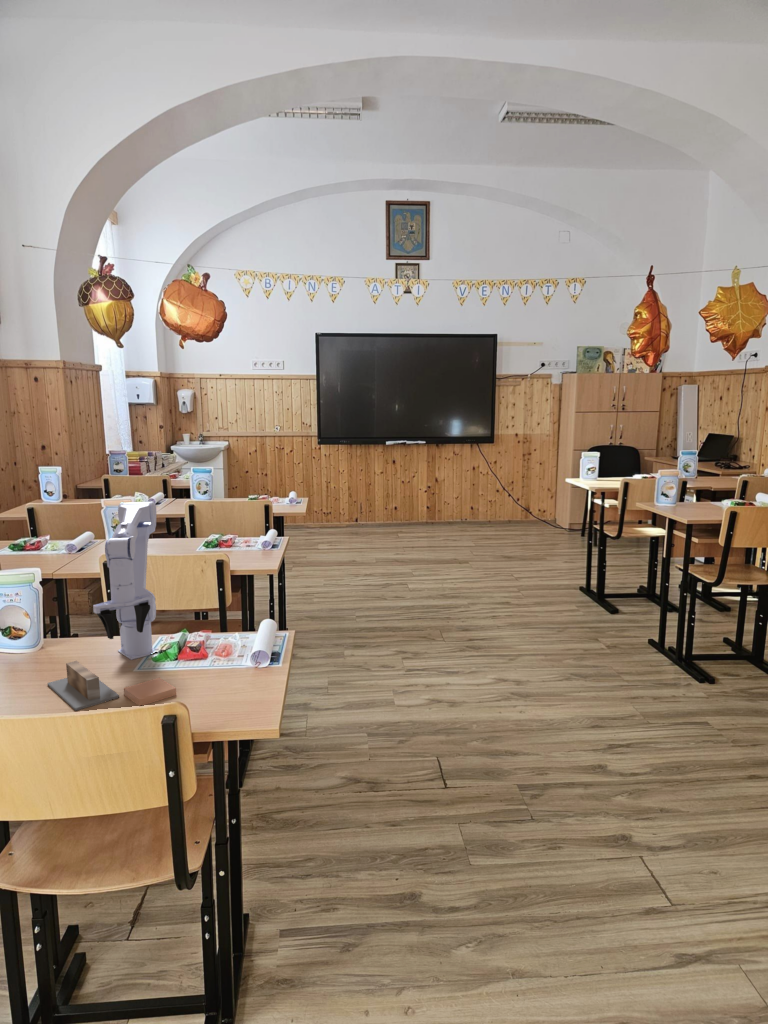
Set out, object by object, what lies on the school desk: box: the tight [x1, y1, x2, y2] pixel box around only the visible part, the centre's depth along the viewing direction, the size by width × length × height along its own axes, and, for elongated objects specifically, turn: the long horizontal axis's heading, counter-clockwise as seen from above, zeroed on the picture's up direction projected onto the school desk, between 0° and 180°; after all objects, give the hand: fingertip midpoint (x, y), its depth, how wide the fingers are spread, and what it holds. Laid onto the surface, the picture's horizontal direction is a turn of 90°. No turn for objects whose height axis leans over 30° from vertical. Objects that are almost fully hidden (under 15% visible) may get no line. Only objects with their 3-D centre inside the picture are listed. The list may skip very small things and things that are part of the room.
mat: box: [47, 677, 120, 711], centre depth 158 cm, size 20×10×1 cm, turn 44°
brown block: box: [65, 660, 100, 701], centre depth 157 cm, size 15×3×5 cm, turn 44°
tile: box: [123, 677, 177, 706], centre depth 156 cm, size 2×9×9 cm
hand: (125, 634), depth 168 cm, fingers open, 7 cm apart
